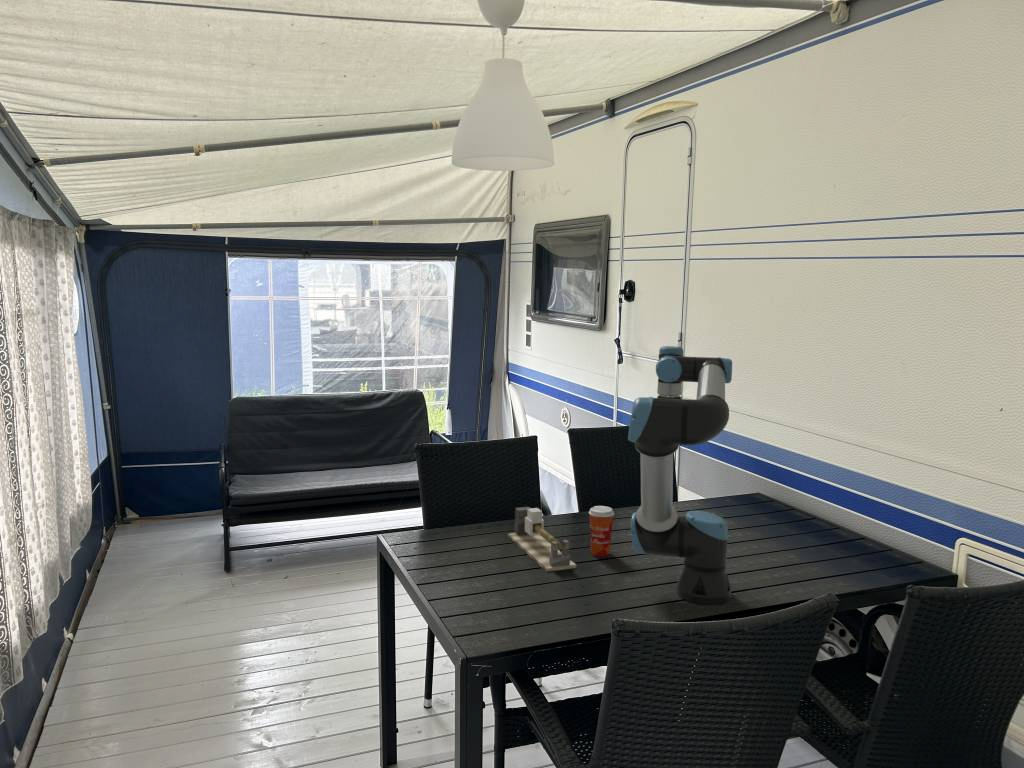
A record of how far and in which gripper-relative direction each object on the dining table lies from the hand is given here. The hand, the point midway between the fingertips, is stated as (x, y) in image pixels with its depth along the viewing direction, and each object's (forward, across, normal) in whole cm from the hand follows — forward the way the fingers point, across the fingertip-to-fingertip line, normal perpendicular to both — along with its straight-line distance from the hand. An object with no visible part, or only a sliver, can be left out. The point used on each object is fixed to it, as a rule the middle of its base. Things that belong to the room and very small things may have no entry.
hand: (666, 468), depth 245 cm
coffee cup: (+30, +9, +18) cm, 36 cm away
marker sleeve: (+25, +22, +36) cm, 49 cm away
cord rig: (+29, +17, +36) cm, 49 cm away
